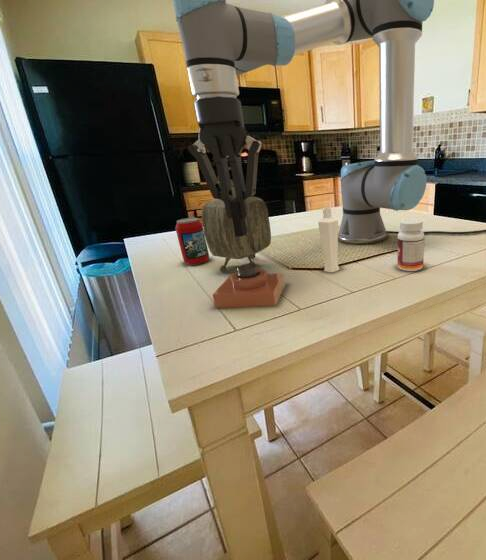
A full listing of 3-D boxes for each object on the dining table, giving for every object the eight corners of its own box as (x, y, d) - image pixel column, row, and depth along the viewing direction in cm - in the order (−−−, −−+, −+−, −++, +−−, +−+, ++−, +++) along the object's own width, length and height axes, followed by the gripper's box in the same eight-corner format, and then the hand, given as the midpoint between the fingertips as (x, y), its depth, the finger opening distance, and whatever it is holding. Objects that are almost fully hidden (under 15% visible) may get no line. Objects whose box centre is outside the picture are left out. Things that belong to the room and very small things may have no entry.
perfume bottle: (338, 272, 80) (334, 210, 75) (321, 272, 81) (315, 210, 76) (342, 266, 84) (339, 206, 79) (326, 266, 85) (321, 206, 80)
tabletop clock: (253, 256, 96) (237, 165, 87) (277, 260, 92) (264, 164, 83) (213, 273, 85) (190, 170, 75) (239, 278, 81) (218, 169, 71)
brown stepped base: (285, 285, 75) (282, 264, 73) (275, 305, 66) (271, 282, 64) (232, 287, 76) (228, 267, 74) (215, 308, 66) (210, 284, 64)
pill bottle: (398, 262, 84) (398, 218, 80) (423, 263, 83) (424, 217, 79) (396, 271, 79) (396, 224, 75) (423, 272, 78) (425, 224, 73)
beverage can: (195, 267, 90) (184, 223, 86) (179, 264, 94) (168, 221, 89) (215, 259, 96) (206, 217, 91) (199, 256, 99) (190, 216, 95)
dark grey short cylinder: (261, 272, 71) (259, 263, 70) (255, 279, 67) (254, 269, 66) (242, 272, 71) (240, 263, 70) (236, 280, 67) (234, 270, 66)
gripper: (168, 98, 53) (200, 241, 62) (248, 92, 53) (269, 238, 62) (189, 103, 60) (216, 231, 69) (260, 98, 60) (278, 228, 69)
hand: (241, 234), depth 66 cm, fingers closed
